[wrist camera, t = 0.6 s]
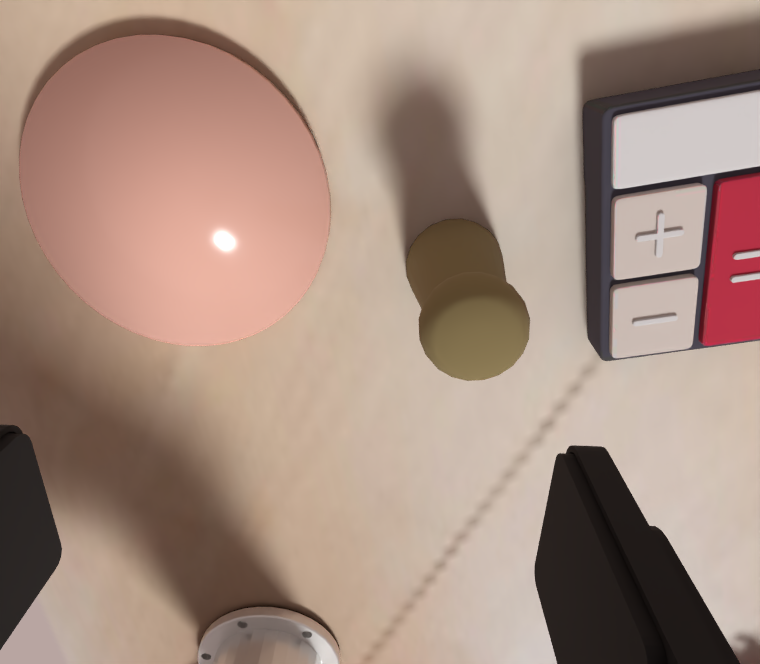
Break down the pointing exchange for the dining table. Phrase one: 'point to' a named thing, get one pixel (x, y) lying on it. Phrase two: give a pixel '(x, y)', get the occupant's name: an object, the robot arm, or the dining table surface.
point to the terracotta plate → (175, 189)
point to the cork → (466, 301)
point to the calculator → (673, 217)
